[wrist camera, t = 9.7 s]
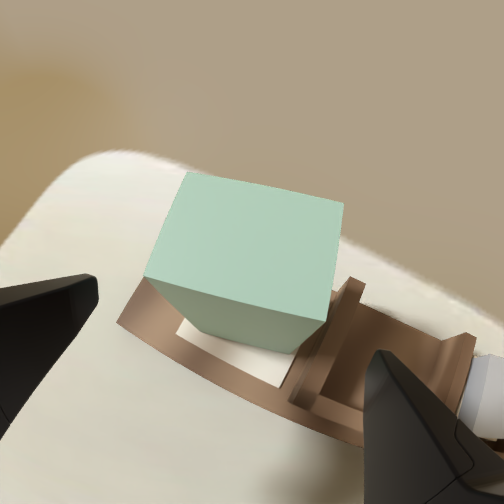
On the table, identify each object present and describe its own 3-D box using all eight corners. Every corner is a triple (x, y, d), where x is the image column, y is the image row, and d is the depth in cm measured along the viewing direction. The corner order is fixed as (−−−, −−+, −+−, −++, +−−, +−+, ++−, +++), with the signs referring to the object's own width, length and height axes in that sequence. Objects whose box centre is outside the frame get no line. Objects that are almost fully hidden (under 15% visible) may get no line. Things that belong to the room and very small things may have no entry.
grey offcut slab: (515, 370, 14) (533, 366, 12) (499, 438, 12) (517, 439, 10) (471, 358, 15) (490, 354, 13) (452, 433, 13) (470, 436, 11)
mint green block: (303, 291, 19) (343, 203, 10) (289, 354, 17) (325, 321, 8) (218, 272, 20) (186, 171, 10) (200, 331, 18) (143, 275, 9)
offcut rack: (509, 377, 16) (541, 370, 13) (475, 474, 13) (506, 481, 10) (184, 226, 22) (171, 195, 19) (122, 325, 19) (94, 311, 16)
